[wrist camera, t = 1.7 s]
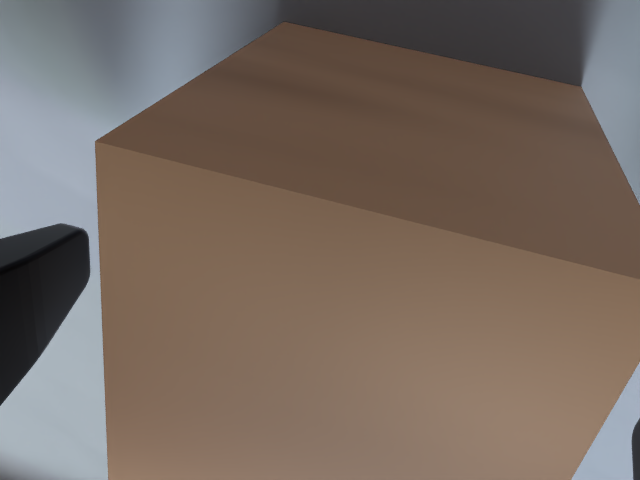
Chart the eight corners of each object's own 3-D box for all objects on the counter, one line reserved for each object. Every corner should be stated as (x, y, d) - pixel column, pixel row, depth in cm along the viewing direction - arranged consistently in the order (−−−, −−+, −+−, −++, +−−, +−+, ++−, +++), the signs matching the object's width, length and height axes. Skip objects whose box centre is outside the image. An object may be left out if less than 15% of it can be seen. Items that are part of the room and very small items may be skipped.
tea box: (461, 392, 13) (445, 694, 8) (240, 329, 14) (103, 575, 9) (580, 85, 10) (680, 289, 5) (276, 19, 10) (79, 137, 5)
